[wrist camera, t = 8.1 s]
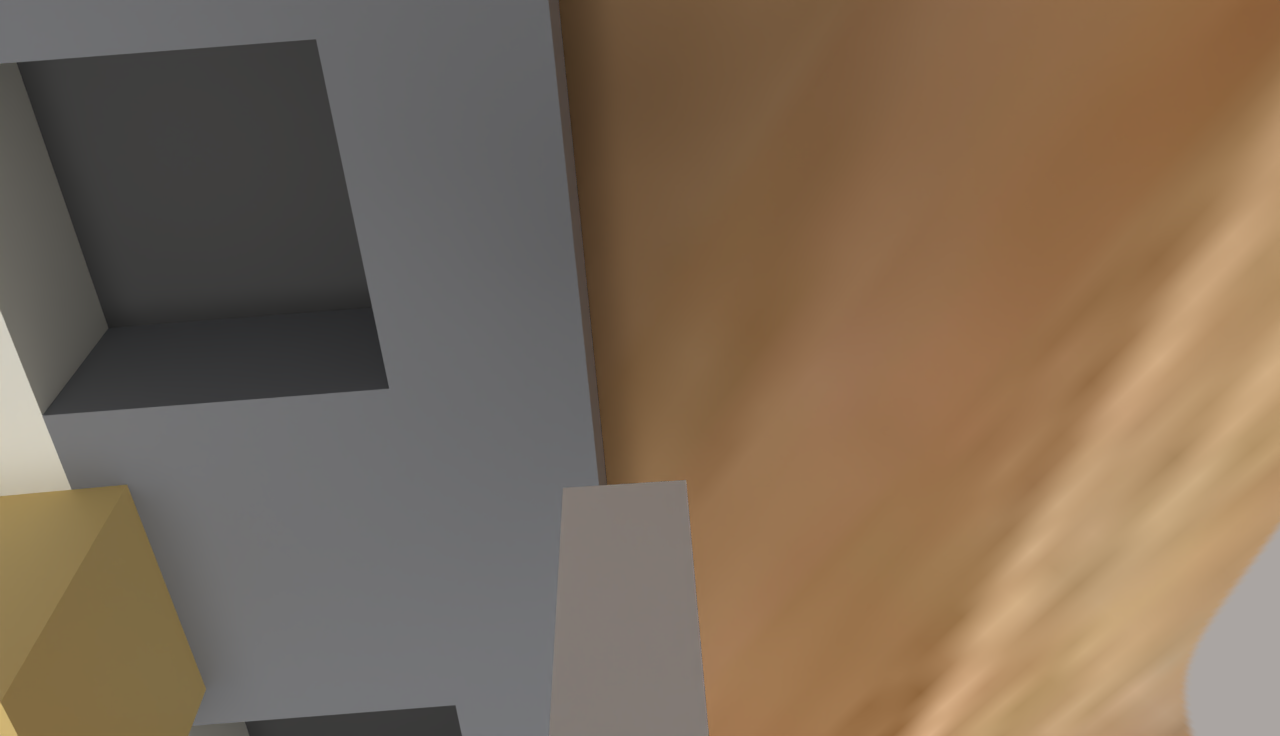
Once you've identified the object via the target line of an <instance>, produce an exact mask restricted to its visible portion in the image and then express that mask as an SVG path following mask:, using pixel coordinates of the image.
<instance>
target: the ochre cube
mask: <svg viewBox="0 0 1280 736" xmlns="http://www.w3.org/2000/svg"><path fill="white" fill-rule="evenodd" d="M205 691H206V687H205V685H204V682H203V680H202V677H201V675H200V672H199V669H198V667H197V664H196V662H195V659H194V656H193V654H192V651H191V649H190V646H189V643H188V641H187V638H186V636H185V633H184V631H183V628H182V625H181V623H180V620H179V618H178V615H177V612H176V610H175V607H174V605H173V602H172V599H171V597H170V594H169V592H168V589H167V587H166V584H165V581H164V579H163V576H162V574H161V571H160V568H159V566H158V563H157V561H156V558H155V555H154V553H153V550H152V548H151V545H150V543H149V540H148V537H147V535H146V532H145V530H144V527H143V524H142V522H141V519H140V517H139V514H138V512H137V509H136V506H135V504H134V501H133V499H132V496H131V493H130V491H129V488H128V486H127V485H117V486H106V487H95V488H85V489H74V490H63V491H52V492H41V493H30V494H19V495H8V496H0V736H188V735H189V733H190V730H191V727H192V725H193V722H194V720H195V717H196V714H197V712H198V709H199V706H200V704H201V701H202V699H203V696H204V693H205Z"/></svg>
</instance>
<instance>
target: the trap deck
mask: <svg viewBox="0 0 1280 736" xmlns="http://www.w3.org/2000/svg"><path fill="white" fill-rule="evenodd" d="M117 485H127V486H128V488H129V491H130V493H131V496H132V499H133V501H134V504H135V506H136V509H137V512H138V514H139V517H140V519H141V522H142V524H143V527H144V530H145V532H146V535H147V537H148V540H149V543H150V545H151V548H152V550H153V553H154V555H155V558H156V561H157V563H158V566H159V568H160V571H161V574H162V576H163V579H164V581H165V584H166V587H167V589H168V592H169V594H170V597H171V599H172V602H173V605H174V607H175V610H176V612H177V615H178V618H179V620H180V623H181V625H182V628H183V631H184V633H185V636H186V638H187V641H188V643H189V646H190V649H191V651H192V654H193V656H194V659H195V662H196V664H197V667H198V669H199V672H200V675H201V677H202V680H203V682H204V685H205V687H206V691H205V693H204V696H203V699H202V701H201V704H200V706H199V709H198V712H197V714H196V717H195V720H194V722H193V725H192V727H191V730H190V733H189V735H188V736H549V729H550V711H551V693H552V675H553V658H554V640H555V622H556V604H557V586H558V569H559V551H560V533H561V515H562V497H563V488H569V487H584V486H600V485H607V479H606V469H605V459H604V449H603V439H602V429H601V419H600V409H599V399H598V389H597V379H596V369H595V359H594V349H593V339H592V329H591V319H590V309H589V299H588V289H587V279H586V269H585V259H584V249H583V239H582V229H581V219H580V209H579V199H578V189H577V179H576V169H575V159H574V149H573V139H572V129H571V119H570V109H569V99H568V89H567V79H566V69H565V59H564V49H563V39H562V29H561V19H560V9H559V0H0V496H8V495H19V494H30V493H41V492H52V491H63V490H74V489H85V488H95V487H106V486H117Z"/></svg>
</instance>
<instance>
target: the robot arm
mask: <svg viewBox="0 0 1280 736" xmlns="http://www.w3.org/2000/svg"><path fill="white" fill-rule="evenodd" d="M549 736H709V731H708V720H707V709H706V698H705V686H704V675H703V664H702V653H701V641H700V630H699V619H698V608H697V597H696V585H695V574H694V563H693V552H692V540H691V529H690V518H689V507H688V495H687V484H686V480H679V481H663V482H647V483H632V484H616V485H600V486H584V487H569V488H563V497H562V515H561V533H560V551H559V569H558V586H557V604H556V622H555V640H554V658H553V675H552V693H551V711H550V729H549Z"/></svg>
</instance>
